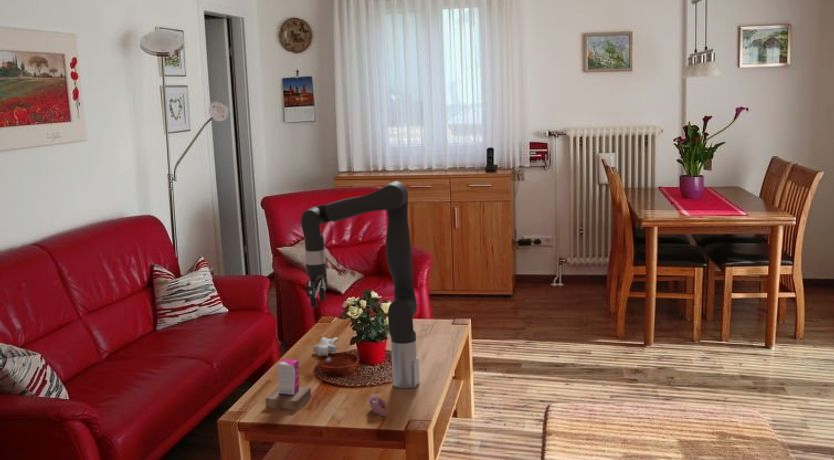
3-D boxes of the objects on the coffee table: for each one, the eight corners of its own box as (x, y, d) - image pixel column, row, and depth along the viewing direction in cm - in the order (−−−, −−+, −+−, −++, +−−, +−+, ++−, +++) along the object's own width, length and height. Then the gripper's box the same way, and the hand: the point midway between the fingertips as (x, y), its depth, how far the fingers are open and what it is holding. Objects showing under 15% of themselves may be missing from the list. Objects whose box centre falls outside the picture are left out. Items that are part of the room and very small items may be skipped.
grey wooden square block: (311, 398, 304) (310, 388, 303) (297, 411, 293) (296, 401, 292) (280, 395, 307) (280, 385, 306) (266, 409, 296) (265, 398, 295)
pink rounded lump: (375, 410, 294) (365, 394, 293) (386, 404, 294) (377, 387, 292) (376, 422, 284) (366, 405, 283) (388, 415, 284) (378, 398, 283)
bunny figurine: (310, 348, 344) (318, 332, 358) (311, 359, 346) (319, 343, 360) (332, 348, 343) (340, 333, 357) (333, 360, 344) (341, 344, 358)
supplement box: (293, 396, 296) (292, 365, 294) (278, 394, 297) (277, 364, 295) (299, 390, 301) (298, 359, 299) (284, 388, 303) (283, 358, 301)
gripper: (317, 266, 303) (320, 309, 306) (332, 257, 316) (334, 299, 319) (298, 265, 305) (301, 309, 308) (313, 256, 318) (316, 298, 321)
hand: (318, 303), depth 314 cm, fingers open, 8 cm apart
